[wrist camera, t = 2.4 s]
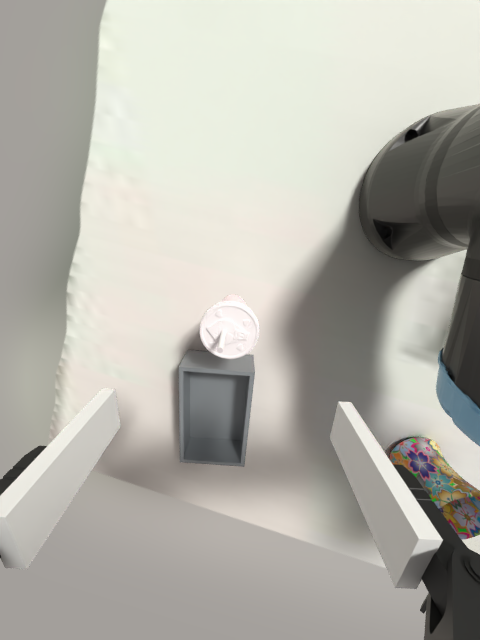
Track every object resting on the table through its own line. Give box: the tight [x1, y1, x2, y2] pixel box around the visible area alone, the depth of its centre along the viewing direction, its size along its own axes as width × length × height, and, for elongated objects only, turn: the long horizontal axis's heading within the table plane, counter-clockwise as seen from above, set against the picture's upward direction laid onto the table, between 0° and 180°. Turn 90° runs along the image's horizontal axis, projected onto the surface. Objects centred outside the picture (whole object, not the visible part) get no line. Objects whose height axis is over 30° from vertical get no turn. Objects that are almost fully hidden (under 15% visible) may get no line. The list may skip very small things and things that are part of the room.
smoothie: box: [200, 295, 260, 359], centre depth 27 cm, size 6×6×14 cm
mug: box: [390, 437, 480, 540], centre depth 37 cm, size 12×9×11 cm
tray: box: [179, 350, 255, 467], centre depth 36 cm, size 17×10×5 cm, turn 176°
